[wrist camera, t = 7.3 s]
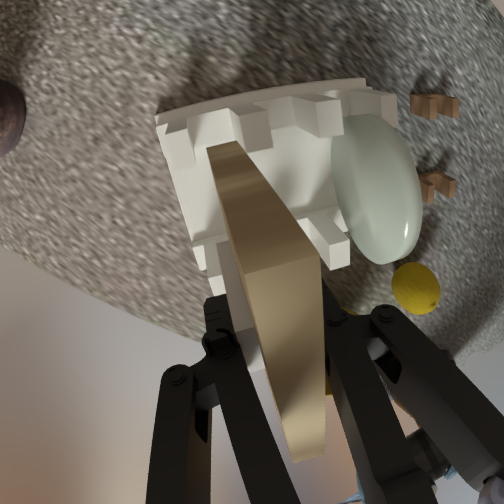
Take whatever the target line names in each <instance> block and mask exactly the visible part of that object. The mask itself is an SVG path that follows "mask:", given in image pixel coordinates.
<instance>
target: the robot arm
mask: <svg viewBox="0 0 504 504" xmlns="http://www.w3.org/2000/svg"><path fill="white" fill-rule="evenodd" d="M216 248H217V253H218V258H219V262H220V267H221V272H222V276H223V281H224V286H225V290H226V293H225V294H221V295H218V296H214V297H210V298H207V299H206V301H205V304H204V306H203V308H204V315H205V322H206V331H207V332H206V333H205V334H204V336H203V338H202V346H203V348H204V350H205V352H206V356H205V357H204V358H203V359H202V360H201V361H199V362H198V363H196V364H194V365H192V366H190V367H188V366H186V365H182V364H178V365H174V366H172V367H170V368H168V369H167V370H166V371H165V372H164V373H163V376H162V379H161V384H160V390H159V397H158V403H157V410H156V417H155V424H154V431H153V439H152V447H151V455H150V464H149V473H148V483H147V493H146V504H210V492H211V489H210V488H211V484H210V483H211V433H212V408H213V407H215V406H217V405H219V404H220V405H221V409H222V413H223V416H224V419H225V423H226V426H227V430H228V433H229V436H230V440H231V443H232V447H233V450H234V453H235V456H236V460H237V463H238V466H239V469H240V472H241V475H242V479H243V481H244V484H245V488H246V491H247V494H248V497H249V500H250V502H251V504H301V503H300V501H299V498H298V496H297V494H296V491H295V489H294V487H293V484H292V482H291V479H290V477H289V474H288V472H287V469H286V467H285V464H284V462H283V460H282V457H281V454H280V452H279V449H278V447H277V444H276V442H275V440H274V437H273V434H272V432H271V429H270V427H269V424H268V422H267V419H266V416H265V414H264V411H263V408H262V406H261V403H260V400H259V398H258V395H257V392H256V390H255V387H254V384H253V382H252V379H251V376H250V374H249V373H250V372H254V371H258V370H262V369H265V365H264V361H263V358H262V354H261V350H260V346H259V343H258V339H257V335H256V331H255V328H254V324H253V321H252V317H251V314H250V311H249V307H248V304H247V300H246V297H245V293H244V290H243V286H242V283H241V280H240V276H239V273H238V269H237V266H236V262H235V259H234V255H233V252H232V248H231V244H230V241H229V240H227V241H223V242H219V243H216ZM321 281H322V299H323V320H324V349H325V374H326V377H327V380H328V383H329V386H330V389H331V392H332V395H333V398H334V401H335V404H336V407H337V410H338V413H339V416H340V419H341V423H342V426H343V429H344V432H345V435H346V438H347V442H348V445H349V448H350V451H351V454H352V458H353V461H354V464H355V467H356V477H357V485H358V490H359V494H360V497H361V499H362V502H363V504H438V502H437V499H436V497H435V493H436V491H437V486H436V484H435V482H434V481H435V480H437V479H438V478H440V477H442V476H444V478H446V479H447V480H448V479H451V478H452V477H453V476H455V475H456V474H457V473H459V475H460V476H461V477H462V478H463V479H464V480H465V481H466V483H468V484H469V485H470V486H471V487H472V488H473V489H475V490H476V491H478V492H479V493H480V494H479V499H478V504H504V416H503V415H502V414H501V413H500V412H499V411H498V410H497V409H496V407H495V406H494V405H493V404H492V403H491V402H490V401H489V400H488V399H487V398H486V397H485V396H484V394H483V393H482V392H481V391H480V390H479V389H478V388H477V387H476V386H475V385H474V384H473V383H472V382H471V381H470V380H469V379H468V378H467V376H465V374H464V373H463V372H462V371H461V370H460V369H459V368H458V367H457V366H456V363H455V360H454V358H453V357H452V356H451V354H450V353H449V352H448V351H446V350H440V349H439V348H438V347H437V346H436V345H435V344H434V343H433V342H432V341H431V340H430V339H429V338H428V337H427V336H426V335H425V334H424V333H423V332H422V331H421V330H420V329H419V328H418V327H417V326H416V325H415V324H414V323H413V322H411V321H410V320H409V319H408V318H407V317H406V316H405V315H404V314H403V313H402V312H401V311H400V310H399V309H398V308H396V307H395V306H392V305H389V304H382V305H379V306H376V307H375V308H374V309H373V310H372V312H371V314H369V315H352V314H349V313H348V311H346V310H344V309H341V307H340V306H339V304H338V303H337V301H336V299H335V298H334V296H333V294H332V293H331V291H330V290H329V288H328V286H327V285H326V283H325V282H324V280H323V278H322V277H321ZM379 375H380V376H381V377H382V379H383V380H384V381H385V382H386V383H387V385H388V386H389V387H390V388H391V396H392V398H393V400H394V402H395V403H396V404H397V405H398V406H399V407H401V408H402V409H403V410H404V411H405V412H406V413H407V414H409V415H410V416H411V417H412V418H414V420H415V421H416V423H417V425H418V427H419V429H418V430H417V431H415V432H413V433H412V434H410V435H408V436H406V437H405V435H404V433H403V430H402V428H401V425H400V423H399V420H398V418H397V416H396V413H395V411H394V409H393V406H392V404H391V402H390V399H389V397H388V395H387V392H386V390H385V388H384V386H383V383H382V381H381V379H380V377H379Z"/></svg>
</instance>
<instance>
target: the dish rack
mask: <svg viewBox="0 0 504 504" xmlns="http://www.w3.org/2000/svg"><path fill="white" fill-rule="evenodd" d="M360 114H374V115H377V116H379V117H381V118H383V119H384V120H386V121H387V122H388V123H389V124H390V125H391V126H392V127H393V128H395V127H398V115H397V99H396V94H392V93H387V92H382V91H377V90H372V87H369V86H366V80H365V78H360V77H356V78H343V79H331V80H322V81H313V82H305V83H297V84H290V85H283V86H277V87H271V88H265V89H259V90H254V91H248V92H243V93H238V94H234V95H229V96H224V97H220V98H215V99H211V100H207V101H203V102H199V103H195V104H191V105H187V106H183V107H179V108H176V109H172V110H169V111H165V112H162V113H158V114H156V115H155V120H156V124H157V125H156V130H157V133H158V137H159V140H160V144H161V147H162V151H163V154H164V157H165V156H166V159H167V163H168V166H169V170H170V173H171V176H172V180H173V183H174V186H175V190H176V193H177V196H178V200H179V203H180V206H181V209H182V212H183V216H184V219H185V222H186V225H187V228H188V231H189V234H190V238H191V241H192V248H193V251H194V254H195V257H196V260H197V263H198V266H199V269H200V270H205V269H207V274H208V279H209V282H210V285H211V288H212V291H213V294H214V296H218V295H221V294H225V293H226V290H225V286H224V281H223V276H222V272H221V267H220V262H219V258H218V253H217V248H216V243H219V242H223V241H227V240H229V238H228V234H227V231H226V227H225V223H224V219H223V215H222V211H221V207H220V203H219V199H218V195H217V191H216V187H215V183H214V179H213V175H212V171H211V167H210V163H209V159H208V155H207V151H206V148H207V147H211V146H215V145H219V144H223V143H227V142H231V141H235V140H237V141H238V143H239V144H240V145H241V147H242V148H243V149H244V151H245V152H246V153H247V155H248V156H249V157H250V158H251V160H252V161H253V162H254V164H255V165H256V166H257V168H258V169H259V170H260V172H261V173H262V174H263V176H264V177H265V178H266V180H267V181H268V182H269V184H270V185H271V186H272V188H273V189H274V191H275V192H276V193H277V195H278V196H279V197H280V199H281V200H282V201H283V203H284V204H285V206H286V207H287V208H288V210H289V211H290V213H291V214H292V215H293V217H294V218H295V219H296V221H297V222H298V224H299V225H300V227H301V228H302V229H303V231H304V232H305V234H306V235H307V236H308V238H309V239H310V241H311V242H312V244H313V245H314V246H315V248H316V249H317V251H318V252H319V254H320V256H321V258H322V259H323V261H324V262H325V263H326V265H327V266H328V268H329V269H330V271H331V270H334V269H338V268H341V267H344V266H348V265H350V240H349V238H348V237H347V236H346V235H345V234H344V233H343V232H347V231H348V229H347V227H346V224H345V222H344V219H343V217H342V214H341V211H340V208H339V205H338V201H337V197H336V193H335V189H334V184H333V177H332V169H331V144H332V138H333V136H338V135H344V129H343V118H344V117H347V116H352V115H360Z"/></svg>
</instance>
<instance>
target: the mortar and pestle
mask: <svg viewBox="0 0 504 504" xmlns="http://www.w3.org/2000/svg"><path fill="white" fill-rule="evenodd" d="M24 118H25V109H24V101H23V98H22V96H21V94H20V92H19V91H18V90H17V88H16V87H15V86H14V85H12V84H10V83H8V82H7V81H4V80H1V79H0V158H1V157H3V156H5V155H6V154H7V153H9V152H10V151H11V150H13V149H14V148H16V145H17V143H18V141H19V139H20V137H21V133H22V130H23V124H24Z"/></svg>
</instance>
